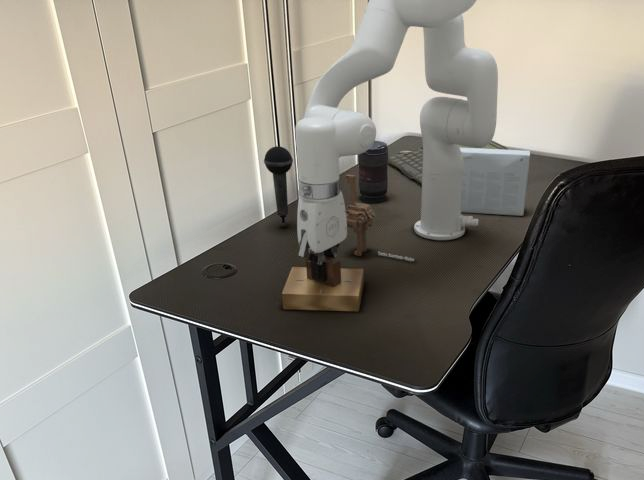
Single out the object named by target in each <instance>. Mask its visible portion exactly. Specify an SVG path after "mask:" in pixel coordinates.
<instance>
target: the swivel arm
mask: <svg viewBox="0 0 644 480" xmlns="http://www.w3.org/2000/svg"><path fill="white" fill-rule="evenodd" d="M314 254H315V255H316V256H317V253H315V252H314ZM322 263H325V276H326V281H325V282H320V281H317V280H314V279H312V276H311V262H309V261H308V259H305V266H306V270H307V278H308V279H311V280H314V281H317V282H320V283H323V284H326V285H329V286H332V287H335V286H337V285H338V284H340V283H341V268H342V265H341V264H342V263H341V260H340V259H338V258H336V257H335V258H332V257H329V256H326V255H323V262H322Z"/></svg>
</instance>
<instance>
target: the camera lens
mask: <svg viewBox="0 0 644 480" xmlns="http://www.w3.org/2000/svg"><path fill="white" fill-rule="evenodd" d="M388 157H389V147H388V143H386V142H385V141H381V140H375V141H374V143H373V145H372V146H371V147H370V148H369V149H368V150H367V151H366V152H364V153H361V154H358V155H357V162H358V163H357V164H358V189H359V194H360V198H361V200H362V201H363V202H367V203H381V202H383V201H385V200H386V195H387V194H388V186H389V185H388V181H389V179H388V165H389V162H388Z"/></svg>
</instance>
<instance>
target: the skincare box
mask: <svg viewBox="0 0 644 480" xmlns="http://www.w3.org/2000/svg"><path fill="white" fill-rule="evenodd" d="M460 150H461V153H462V156H463V175H462V189H461V204H460V210H461V213H468V214H485V215H500V216H501V215H502V216H503V215H504V216H521V217H523V216H524V214H525V205H526V198H527V197H526V196H527V187H528V179H529V178H528V177H529V169H530V159H531V151H530V150H523V149H522V150H521V149H508V150H503V149H481V148H460Z"/></svg>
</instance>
